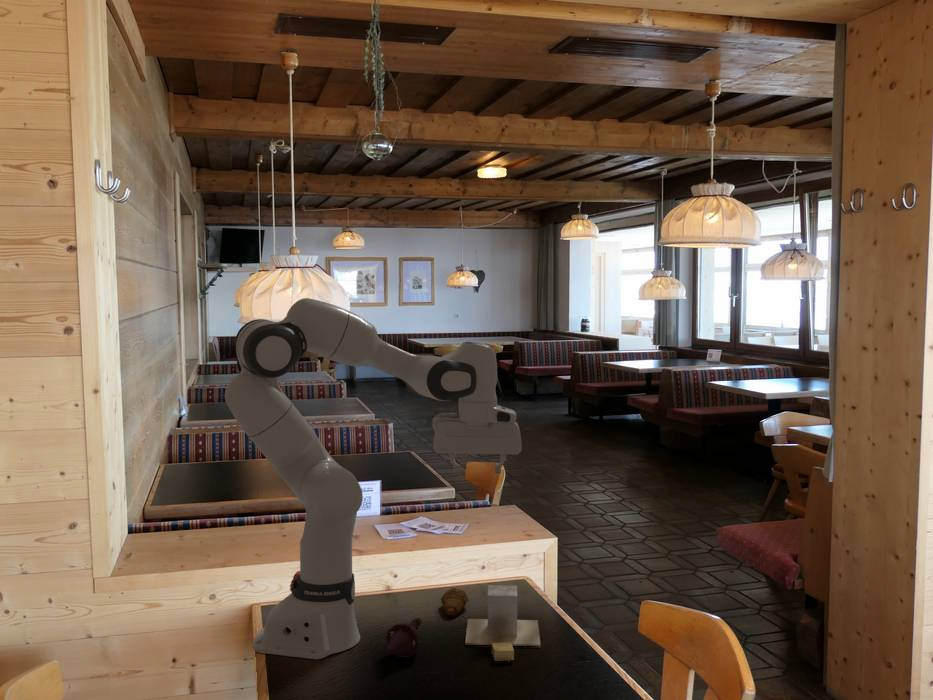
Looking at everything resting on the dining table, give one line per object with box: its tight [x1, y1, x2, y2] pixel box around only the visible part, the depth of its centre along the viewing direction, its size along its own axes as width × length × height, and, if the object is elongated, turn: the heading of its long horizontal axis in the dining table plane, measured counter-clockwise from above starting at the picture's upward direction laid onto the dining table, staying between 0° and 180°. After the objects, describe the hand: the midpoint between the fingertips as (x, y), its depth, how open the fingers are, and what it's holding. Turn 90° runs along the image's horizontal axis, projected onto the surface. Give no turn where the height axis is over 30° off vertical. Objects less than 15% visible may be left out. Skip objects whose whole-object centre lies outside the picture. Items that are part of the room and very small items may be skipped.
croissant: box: [440, 587, 469, 618], centre depth 190 cm, size 14×7×5 cm, turn 173°
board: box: [464, 618, 541, 648], centre depth 175 cm, size 16×13×1 cm
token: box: [491, 642, 515, 662], centre depth 164 cm, size 4×4×2 cm
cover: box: [487, 584, 518, 637], centre depth 176 cm, size 6×6×9 cm
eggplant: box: [385, 617, 423, 658], centre depth 164 cm, size 7×7×15 cm
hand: (477, 472), depth 182 cm, fingers open, 8 cm apart
